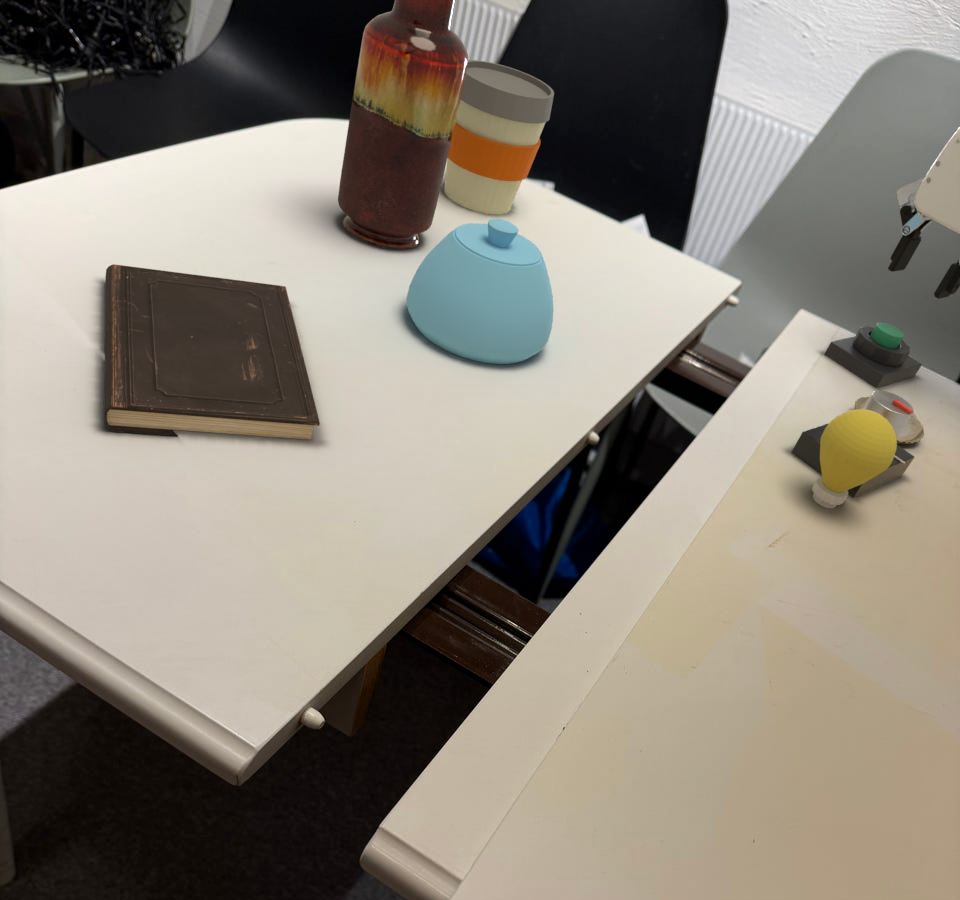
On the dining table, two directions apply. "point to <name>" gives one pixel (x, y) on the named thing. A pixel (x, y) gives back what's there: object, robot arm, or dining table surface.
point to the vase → (401, 122)
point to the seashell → (910, 431)
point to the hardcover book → (202, 356)
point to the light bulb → (852, 454)
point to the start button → (887, 335)
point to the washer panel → (810, 454)
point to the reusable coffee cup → (495, 136)
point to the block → (873, 359)
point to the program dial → (890, 409)
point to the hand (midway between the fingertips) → (918, 281)
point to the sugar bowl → (484, 294)
